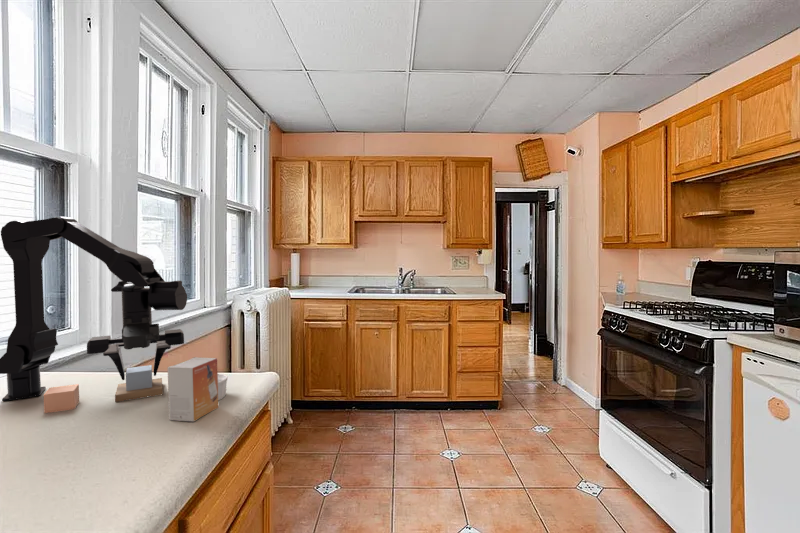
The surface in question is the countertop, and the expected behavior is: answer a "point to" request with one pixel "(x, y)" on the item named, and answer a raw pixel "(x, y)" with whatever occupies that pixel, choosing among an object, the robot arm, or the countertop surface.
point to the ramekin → (222, 385)
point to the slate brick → (139, 377)
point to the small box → (192, 389)
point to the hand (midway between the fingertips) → (139, 377)
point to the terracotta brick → (61, 398)
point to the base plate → (138, 391)
